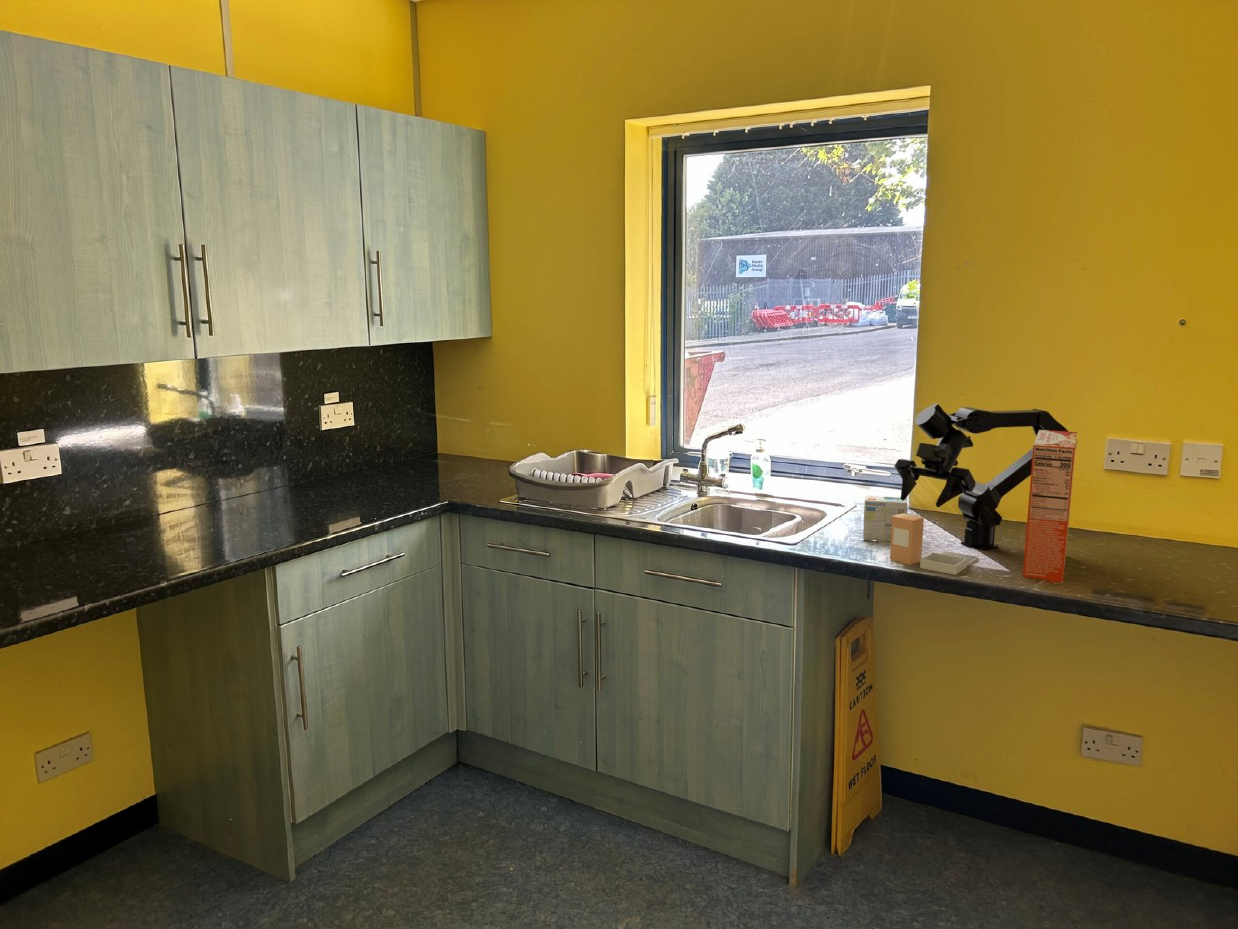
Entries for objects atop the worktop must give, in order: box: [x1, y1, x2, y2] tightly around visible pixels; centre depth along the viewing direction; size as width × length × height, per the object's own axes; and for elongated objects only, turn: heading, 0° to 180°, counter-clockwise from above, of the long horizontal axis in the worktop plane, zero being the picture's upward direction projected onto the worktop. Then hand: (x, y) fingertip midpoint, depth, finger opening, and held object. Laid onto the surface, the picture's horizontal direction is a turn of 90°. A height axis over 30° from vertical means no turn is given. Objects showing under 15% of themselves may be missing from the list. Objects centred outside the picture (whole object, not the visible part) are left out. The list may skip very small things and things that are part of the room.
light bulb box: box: [862, 494, 908, 542], centre depth 236 cm, size 11×7×11 cm, turn 74°
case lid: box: [939, 550, 980, 567], centre depth 218 cm, size 8×8×1 cm
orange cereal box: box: [1022, 430, 1078, 583], centre depth 211 cm, size 23×8×30 cm, turn 153°
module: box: [889, 513, 925, 566], centre depth 216 cm, size 5×6×11 cm
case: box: [919, 551, 968, 576], centre depth 212 cm, size 7×8×2 cm
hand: (919, 502), depth 218 cm, fingers open, 9 cm apart
